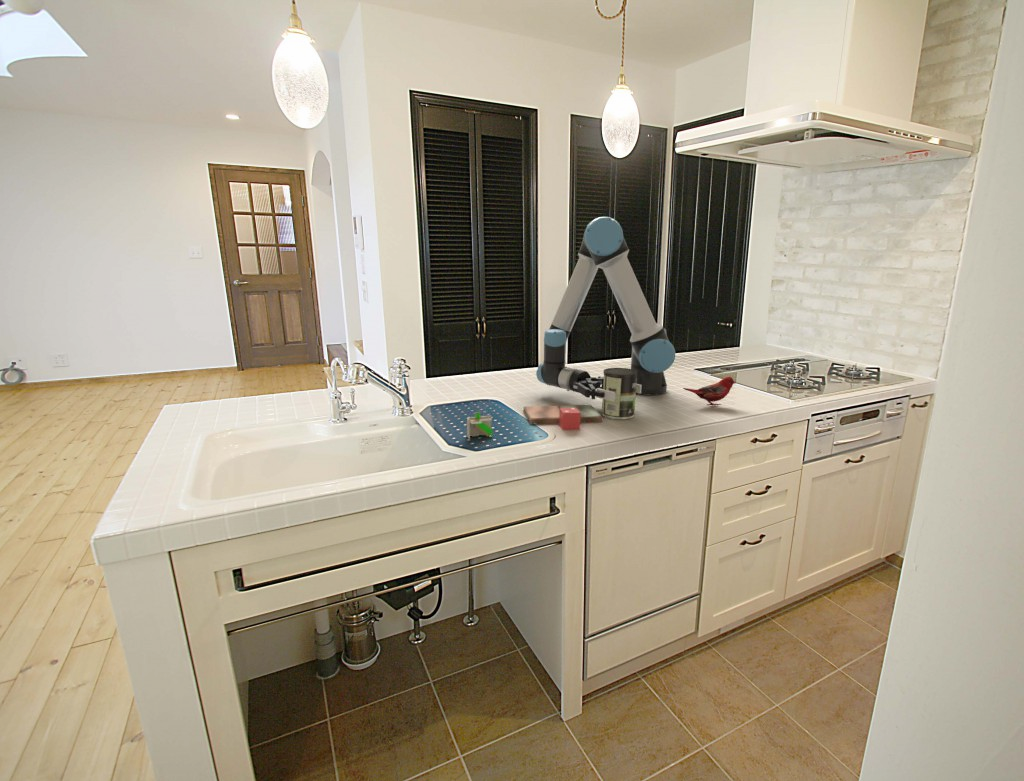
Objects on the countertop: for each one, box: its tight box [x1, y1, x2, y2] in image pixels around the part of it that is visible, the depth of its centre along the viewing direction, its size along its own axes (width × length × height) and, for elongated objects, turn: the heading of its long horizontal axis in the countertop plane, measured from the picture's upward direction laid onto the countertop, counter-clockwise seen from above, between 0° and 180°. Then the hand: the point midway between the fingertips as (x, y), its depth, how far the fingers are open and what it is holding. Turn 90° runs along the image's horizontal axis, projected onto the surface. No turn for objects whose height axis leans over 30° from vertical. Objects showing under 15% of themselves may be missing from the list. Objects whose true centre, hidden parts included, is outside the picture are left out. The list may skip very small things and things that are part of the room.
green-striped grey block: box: [466, 411, 493, 440], centre depth 143 cm, size 4×7×8 cm, turn 109°
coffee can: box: [601, 367, 638, 420], centre depth 164 cm, size 10×10×14 cm
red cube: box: [558, 408, 581, 431], centre depth 153 cm, size 5×5×5 cm
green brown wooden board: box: [523, 404, 604, 425], centre depth 163 cm, size 22×13×2 cm, turn 98°
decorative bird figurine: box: [682, 376, 736, 406], centre depth 174 cm, size 3×18×10 cm, turn 93°
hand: (628, 393), depth 161 cm, fingers open, 13 cm apart
